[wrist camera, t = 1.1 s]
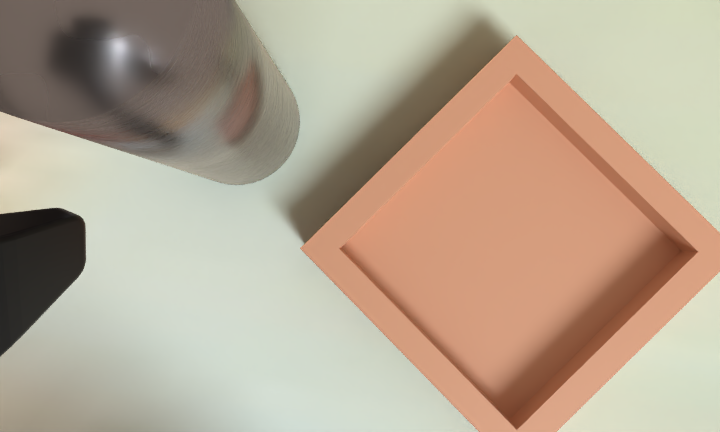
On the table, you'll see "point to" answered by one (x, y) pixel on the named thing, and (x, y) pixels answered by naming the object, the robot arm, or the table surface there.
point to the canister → (151, 82)
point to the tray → (517, 248)
